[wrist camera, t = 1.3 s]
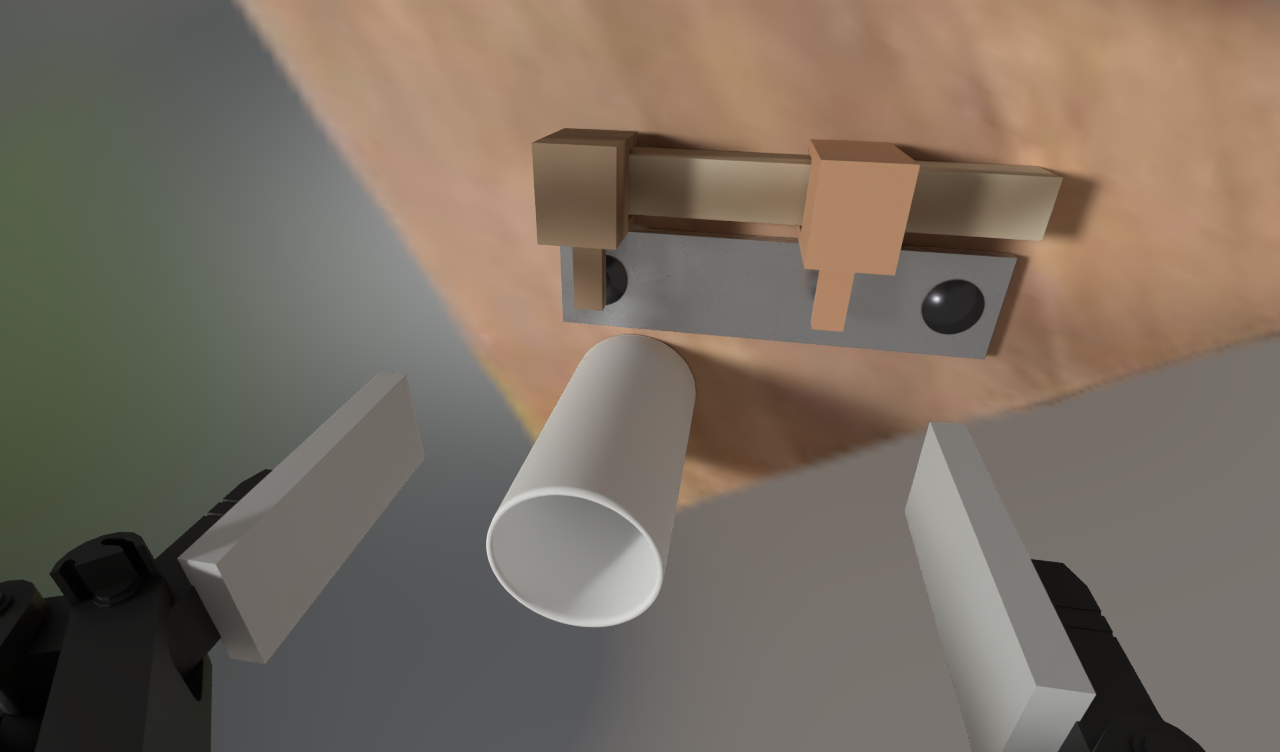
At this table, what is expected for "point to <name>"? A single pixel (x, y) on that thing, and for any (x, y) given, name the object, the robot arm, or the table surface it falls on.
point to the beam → (780, 182)
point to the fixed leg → (584, 202)
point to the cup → (599, 488)
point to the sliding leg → (853, 219)
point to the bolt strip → (795, 293)
